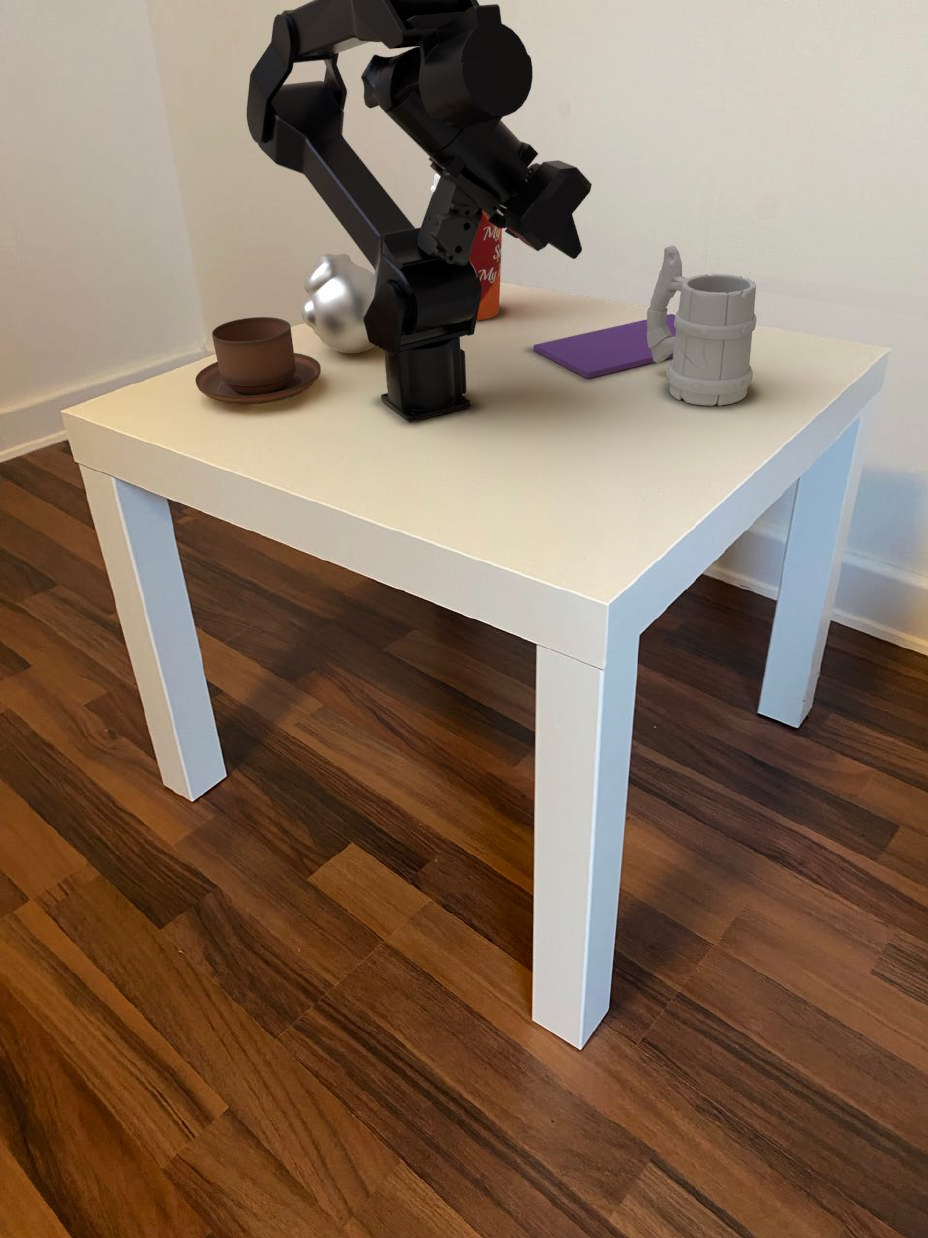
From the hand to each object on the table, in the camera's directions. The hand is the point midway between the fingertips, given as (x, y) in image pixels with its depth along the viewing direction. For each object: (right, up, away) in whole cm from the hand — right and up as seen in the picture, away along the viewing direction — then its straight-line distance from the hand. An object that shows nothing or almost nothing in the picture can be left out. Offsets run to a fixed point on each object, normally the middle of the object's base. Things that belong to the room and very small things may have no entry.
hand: (576, 253), depth 85 cm
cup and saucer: (-30, -10, +10) cm, 33 cm away
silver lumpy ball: (-22, -3, +19) cm, 29 cm away
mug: (+12, -10, +7) cm, 17 cm away
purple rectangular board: (+8, -3, +17) cm, 19 cm away
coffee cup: (-9, +4, +29) cm, 30 cm away
